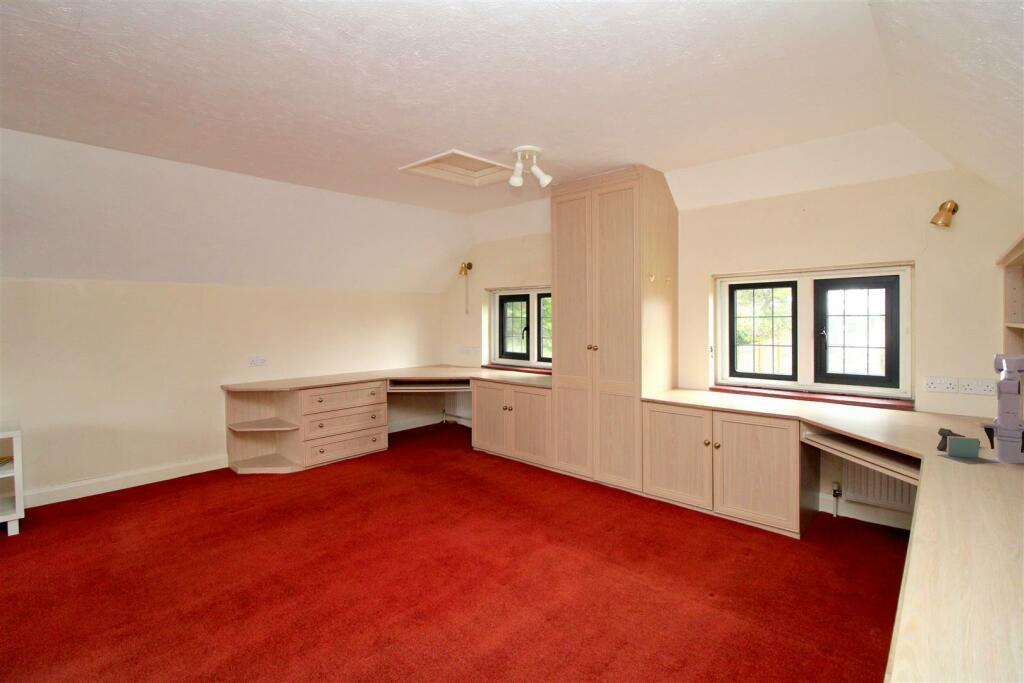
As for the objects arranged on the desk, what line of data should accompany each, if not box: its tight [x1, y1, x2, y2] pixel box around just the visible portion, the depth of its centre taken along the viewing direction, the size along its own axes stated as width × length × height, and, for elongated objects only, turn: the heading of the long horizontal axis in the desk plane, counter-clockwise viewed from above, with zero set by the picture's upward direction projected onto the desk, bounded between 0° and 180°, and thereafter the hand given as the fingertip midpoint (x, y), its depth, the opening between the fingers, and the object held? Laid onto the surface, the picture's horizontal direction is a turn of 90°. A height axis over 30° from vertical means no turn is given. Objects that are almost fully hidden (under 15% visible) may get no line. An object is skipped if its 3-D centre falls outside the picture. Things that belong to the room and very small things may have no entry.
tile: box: [946, 436, 980, 458], centre depth 212 cm, size 2×10×8 cm, turn 67°
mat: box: [936, 453, 1001, 465], centre depth 209 cm, size 14×14×1 cm
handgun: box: [936, 427, 981, 452], centre depth 226 cm, size 4×24×10 cm, turn 108°
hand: (1007, 450), depth 183 cm, fingers open, 7 cm apart
